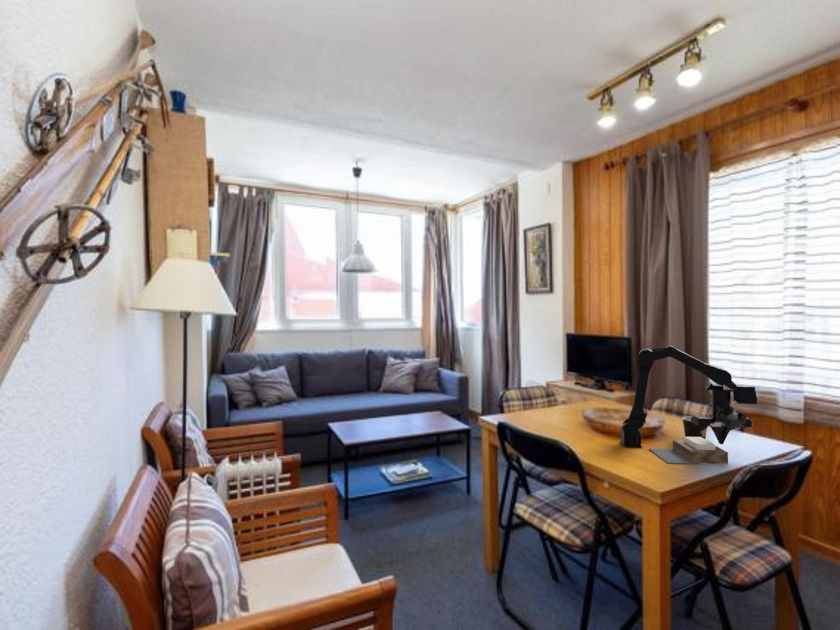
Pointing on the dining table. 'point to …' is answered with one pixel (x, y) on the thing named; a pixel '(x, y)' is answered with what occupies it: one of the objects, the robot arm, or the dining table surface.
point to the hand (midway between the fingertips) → (721, 444)
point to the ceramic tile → (699, 443)
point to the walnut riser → (701, 453)
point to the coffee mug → (693, 429)
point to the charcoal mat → (672, 456)
